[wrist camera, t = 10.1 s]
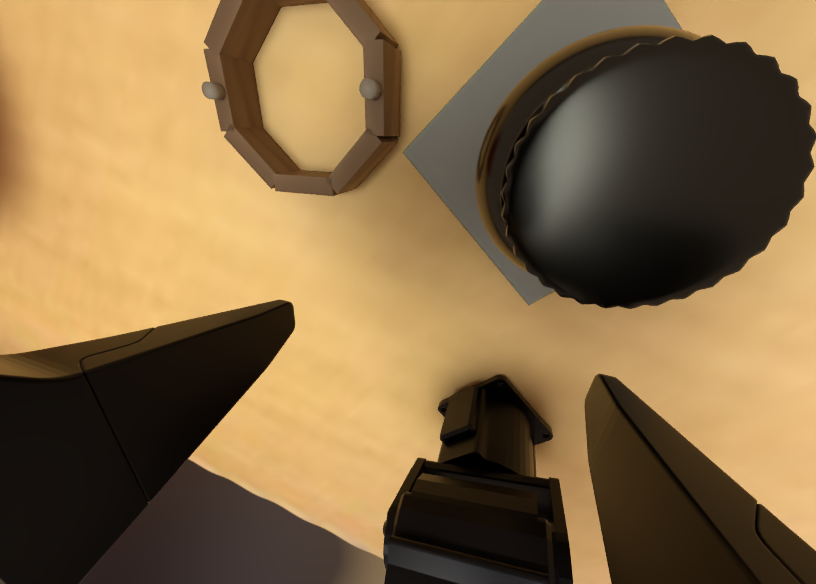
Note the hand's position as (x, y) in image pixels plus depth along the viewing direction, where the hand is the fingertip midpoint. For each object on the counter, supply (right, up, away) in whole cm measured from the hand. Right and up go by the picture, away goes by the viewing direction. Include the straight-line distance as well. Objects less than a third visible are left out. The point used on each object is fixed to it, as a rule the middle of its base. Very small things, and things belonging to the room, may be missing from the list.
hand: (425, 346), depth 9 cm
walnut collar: (-6, +13, +10) cm, 18 cm away
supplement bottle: (+7, +8, +7) cm, 13 cm away
